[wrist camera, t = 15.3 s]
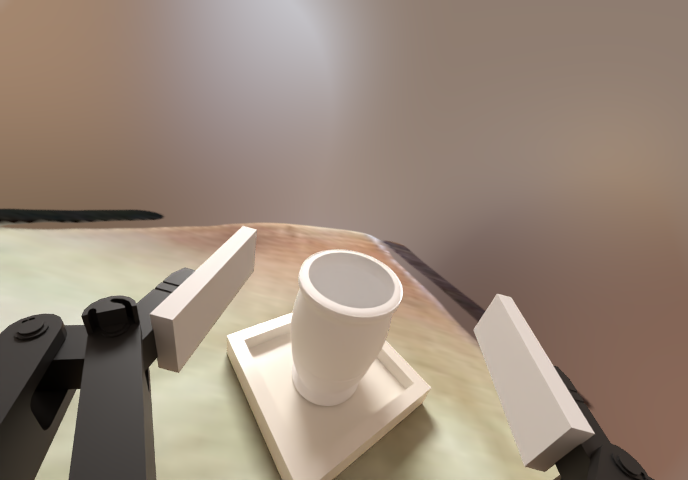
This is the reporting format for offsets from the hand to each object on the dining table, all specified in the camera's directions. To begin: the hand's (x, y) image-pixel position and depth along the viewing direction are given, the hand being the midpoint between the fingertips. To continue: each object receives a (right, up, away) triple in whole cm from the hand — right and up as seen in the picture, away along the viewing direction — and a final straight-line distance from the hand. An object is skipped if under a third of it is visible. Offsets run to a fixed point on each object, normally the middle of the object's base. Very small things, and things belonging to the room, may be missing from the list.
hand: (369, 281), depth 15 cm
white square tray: (-4, -15, +20) cm, 25 cm away
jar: (-4, -14, +19) cm, 24 cm away
